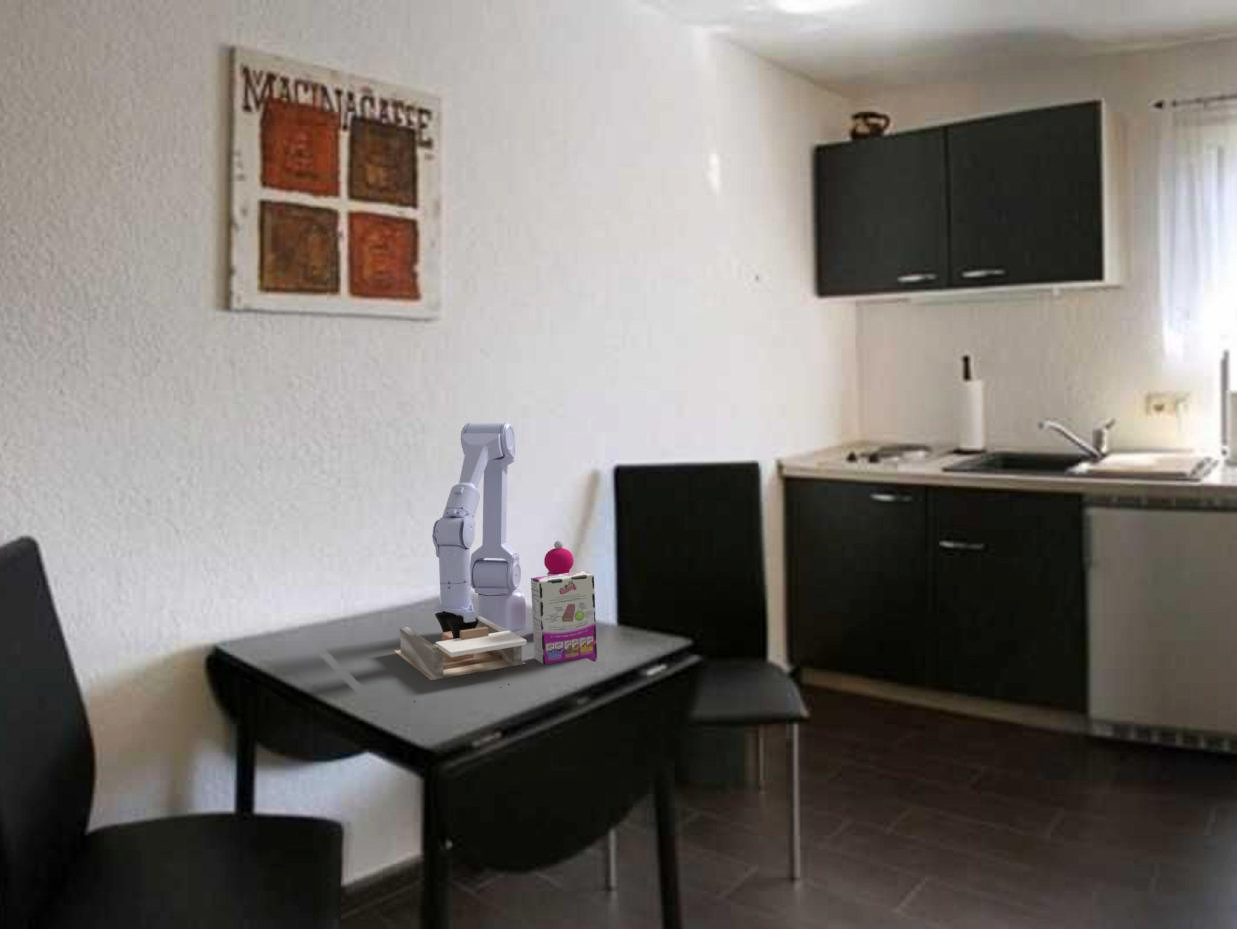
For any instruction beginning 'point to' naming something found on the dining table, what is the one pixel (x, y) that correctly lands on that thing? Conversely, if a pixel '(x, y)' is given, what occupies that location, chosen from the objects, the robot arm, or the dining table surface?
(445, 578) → the robot arm
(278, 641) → the dining table surface
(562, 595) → the candy bar box
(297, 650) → the dining table surface
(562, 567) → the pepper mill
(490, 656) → the beige wooden low frame
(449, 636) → the terracotta block
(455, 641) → the sliding lid
